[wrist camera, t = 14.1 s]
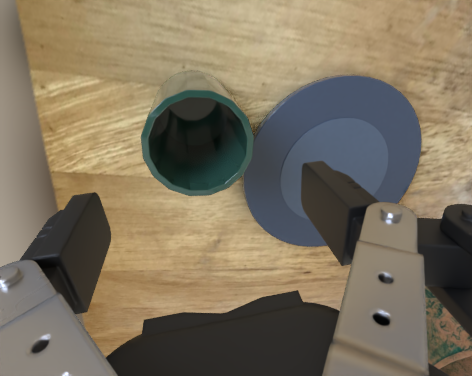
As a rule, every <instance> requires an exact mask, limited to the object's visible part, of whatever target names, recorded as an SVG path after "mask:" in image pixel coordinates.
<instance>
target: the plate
mask: <svg viewBox="0 0 472 376" xmlns="http://www.w3.org/2000/svg"><path fill="white" fill-rule="evenodd" d="M420 153H421V130H420V125H419V121H418V118H417V116H416V113H415V111H414V109H413V107H412V106H411V104H410V103H409V101H408V100H407V99H406V98H405V97H404V96H403V94H402V93H401V92H400V91H398V90H397V89H395V88H394V87H393V86H391V85H389V84H387V83H385V82H383V81H381V80H378V79H374V78H371V77H367V76H361V75H337V76H331V77H326V78H323V79H320V80H317V81H314V82H312V83H310V84H307V85H305V86H303V87H301V88H299V89H298V90H296V91H295V92H293V93H291V94H290V95H288V96H287V97H286V98H285V99H283V100H282V101H281V102H280V103H279V104H277V105H276V106H275V108H274V109H273V110H272V111H271V112H270V113H269V114H268V115H267V116H266V117H265V119H264V120H263V121H262V123H261V124H260V125H259V127H258V129H257V130H256V132H255V134H254V143H253V154H252V159H251V161H250V162H249V164H248V166H247V168H246V170H245V172H244V174H243V189H244V195H245V198H246V201H247V204H248V207H249V209H250V211H251V213H252V215H253V217H254V218H255V220H256V221H257V222H258V224H259V225H260V226H261V227H262V228H263V229H264V230H265V231H267V232H268V233H269V234H271V235H272V236H274V237H276V238H277V239H279V240H281V241H284V242H287V243H289V244H294V245H298V246H307V247H318V246H327V244H326V242H325V241H324V239H323V238H322V237H321V235H320V234H319V232H318V231H317V229H316V228H315V226H314V225H313V224H312V222H311V221H310V219H309V218H308V216H307V215H306V213H305V212H304V210H303V208H302V204H301V175H302V165H303V164H304V163H308V162H315V161H324V162H325V163H326V164H327V165H328V166H329V167H331V168H332V169H333V170H334V171H335V170H337V171H340V172H342V173H344V174H347V175H348V176H350V177H351V178H352V179H353V180H354V181H355V183H358V184H359V185H360V186H361V187H362V188H364V189H365V190H366V191H367V192H369V193H370V194H371V195H372V196H373V197H375V198H376V199H377V200H378V201H379V202H390V203H396V204H397V203H398V202H399V201H400V199H401V198H402V197H403V195H404V194H405V192H406V191H407V189H408V187H409V185H410V184H411V182H412V179H413V177H414V175H415V172H416V169H417V166H418V163H419V158H420Z"/></svg>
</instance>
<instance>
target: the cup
mask: <svg viewBox="0 0 472 376" xmlns="http://www.w3.org/2000/svg"><path fill="white" fill-rule="evenodd" d="M141 143H142V153H143V159H144V161H145V163H146V164H147V166H148V168H149V170H150V171H151V173H152V175H153V176H154V177H155V178H156V179H157V180H158V181H160V182H161V183H162V184H163V185H165V186H166V187H167V188H168V189H170V190H173V191H176V192H179V193H182V194H185V195H188V196H203V195H212V194H214V193H217V192H219V191H222V190H224V189H227V188H229V187H230V186H231V185H232V184H233V183H234V182H236V181H237V180H238V179H239V178H240V177H241V176H242V175H243V174H244V172H245V170H246V168H247V166H248V164H249V162H250V161H251V159H252V154H253V143H254V135H253V132H252V129H251V126H250V123H249V120H248V117H247V116H246V114H245V113H244V112H243V111H242V109H241V108H240V107H239V105H238V104H237V103H236V101H235V100H234V99H233V98H232V96H231V95H230V94H229V92H228V91H227V90H226V89H225V88H224V87H223V85H222V84H221V83H220V82H219V81H218V80H217V79H216V78H214V77H212V76H210V75H209V74H206V73H203V72H199V71H185V72H181V73H178V74H176V75H174V76H172V77H170V78H169V79H168V80H167V81H166V82H165V83H164V84H163V85H162V86H161V88H160V89H159V90H158V93H157V95H156V98H155V100H154V103H153V105H152V107H151V110H150V112H149V115H148V117H147V120H146V123H145V126H144V129H143V132H142V135H141Z"/></svg>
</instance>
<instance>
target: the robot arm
mask: <svg viewBox="0 0 472 376" xmlns="http://www.w3.org/2000/svg"><path fill="white" fill-rule="evenodd" d="M301 204H302V208H303V210H304V212H305V213H306V215H307V216H308V218H309V219H310V221H311V222H312V224H313V225H314V226H315V228H316V229H317V231H318V232H319V234H320V235H321V237H322V238H323V239H324V241H325V242H326V244H327V245H328V247H329V248H330V249H331V251H332V252H333V254H334V255H335V257H336V258H337V260H338V261H339V262H340V264H341V265H342V266H344V265H349V264H351V268H350V272H349V276H348V280H347V284H346V288H345V292H344V296H343V300H342V304H341V308H340V311H338V310H336V309H334V308H331V307H328V306H324V305H320V304H316V303H308V302H303V301H302V299H301V297H300V294H299V292H298V291H292V292H287V293H282V294H277V295H271V296H266V297H261V298H259V299H257V300H254V301H252V302H250V303H248V304H245V305H243V306H241V307H238V308H236V309H234V310H232V311H229V312H227V313H221V314H219V313H186V312H183V313H178V314H172V315H167V316H162V317H157V318H152V319H146V320H144V323H143V331H142V334H141V335H138V336H136V337H134V338H133V339H131V340H129V341H127V342H126V343H124V344H123V345H121V346H120V347H118V348H117V349H116V350H114V351H113V352H112V353H111V354H110V355H108V356H107V357H106V358H105V357H104V355H103V354H102V352H101V351H100V349H99V348H98V346H97V345H96V344H95V342H94V341H93V339H92V338H91V336H90V335H89V334H88V332H87V331H86V329H85V328H84V326H83V325H82V323H81V322H80V321H79V319H78V318H77V316H76V315H75V314H79V313H85V312H87V311H88V308H89V305H90V302H91V299H92V296H93V293H94V290H95V287H96V284H97V281H98V278H99V275H100V272H101V269H102V266H103V263H104V260H105V257H106V254H107V251H108V248H109V245H110V242H111V231H110V226H109V223H108V220H107V218H106V215H105V212H104V209H103V206H102V203H101V200H100V198H99V196H98V194H97V193H95V192H94V193H87V194H80V195H74V196H73V197H72V198H71V200H70V201H69V203H68V204H67V206H66V207H65V209H64V210H60V211H59V212H57V213H56V214H55V215H54V216H52V217H51V218H49V219H48V221H47V222H46V224H45V225H44V227H43V228H42V230H41V231H40V232H39V233H38V235H37V238H35V239H34V241H33V242H32V243H31V245H30V246H29V248H28V249H27V251H26V252H25V253H24V255H23V256H22V257H21V259H20V260H19V261H16V262H12V263H10V264H7V265H5V266H2V267H0V376H450V375H448V374H447V373H445V372H443V371H442V370H440V369H438V368H436V367H435V366H433V365H431V364H430V363H428V347H427V322H426V298H425V286H426V287H427V288H428V289H429V290H430V291H431V292H432V294H433V295H434V296H435V297H436V298H437V299H438V300H439V301H440V303H441V304H442V305H443V306H444V307H445V308H446V309H447V310H448V312H449V313H450V314H451V315H452V316H453V317H454V318H455V320H456V321H457V322H458V323H459V324H460V325H461V326H462V327H463V329H464V330H465V331H466V332H467V333H468V334H469V335H470V336H471V338H472V205H466V204H454V205H450V206H448V207H446V208H445V210H444V214H443V217H442V219H430V218H417V216H416V214H415V213H414V212H413V211H412V210H410V209H409V208H407V207H405V206H402V205H400V204H396V203H390V202H379V201H378V200H377V199H376V198H375V197H373V196H372V195H371V194H370V193H369V192H367V191H366V190H365V189H364V188H362V187H361V186H360V185H359V184H358V183H355V181H354V180H353V179H352V178H351V177H350V176H348V175H347V174H344V173H342V172H340V171H337V170H335V171H334V170H333V169H332V168H331V167H329V166H328V165H327V164H326V163H325V162H324V161H315V162H308V163H304V164H303V165H302V175H301Z"/></svg>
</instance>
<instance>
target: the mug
mask: <svg viewBox="0 0 472 376" xmlns="http://www.w3.org/2000/svg"><path fill="white" fill-rule="evenodd" d="M425 298H426V322H427V347H428V363H430V364H431V365H433V366H435V367H436V368H438V369H440V370H442V371H443V372H445V373H447V374H448V375H450V376H472V338H471V336H470V335H469V334H468V333H467V332H466V331H465V330H464V329H463V327H462V326H461V325H460V324H459V323H458V322H457V321H456V320H455V318H454V317H453V316H452V315H451V314H450V313H449V312H448V310H447V309H446V308H445V307H444V306H443V305H442V304H441V303H440V301H439V300H438V299H437V298H436V297H435V296H434V295H433V294H432V292H431V291H430V290H429V289H428V288H427V287H426V286H425Z"/></svg>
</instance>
